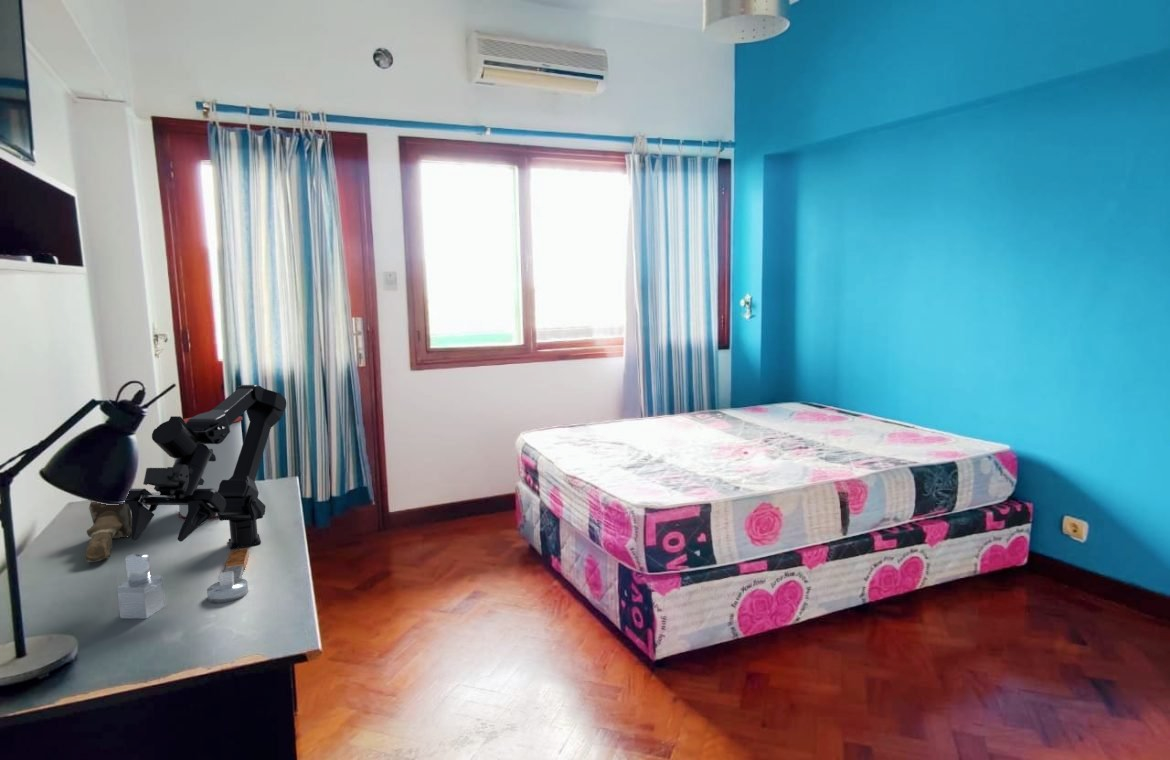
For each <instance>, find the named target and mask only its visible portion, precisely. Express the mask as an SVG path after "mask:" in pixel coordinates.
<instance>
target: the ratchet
mask: <svg viewBox="0 0 1170 760" xmlns="http://www.w3.org/2000/svg"><path fill="white" fill-rule="evenodd" d="M248 558H250V552H249V548H248V547H247V548H245V547H244V548H237V549H230V551H229V554H228V557H227V559H226V563H225V569H224V572H223V571H222V572H220V574H219V576H218V580H219V581H217V582H214V583H213V584H211V585H210V586H208V587H207V589H206V595H207V601H208V602H209V603H210V604H214V605H221V604H228V603H233V602H236V601H238V600H240V599H243V598H244V597H246V596H247V595H248V594H249V586H248V580H247V579H245V578H243V577H242V575H243V576H244V573H245V571H246V569H247V566H246V565H248V562H249V559H248ZM245 568H246V569H245ZM244 570H245V571H244ZM243 572H244V573H243Z"/></svg>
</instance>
